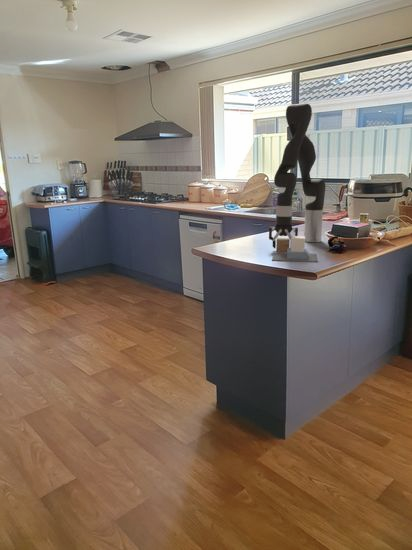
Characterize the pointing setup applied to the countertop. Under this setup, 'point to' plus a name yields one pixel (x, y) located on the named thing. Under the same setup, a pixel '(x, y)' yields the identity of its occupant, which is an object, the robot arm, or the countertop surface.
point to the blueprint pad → (284, 257)
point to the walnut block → (282, 244)
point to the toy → (335, 244)
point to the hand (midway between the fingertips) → (282, 248)
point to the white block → (297, 243)
